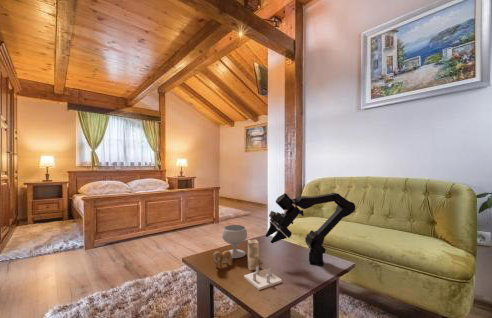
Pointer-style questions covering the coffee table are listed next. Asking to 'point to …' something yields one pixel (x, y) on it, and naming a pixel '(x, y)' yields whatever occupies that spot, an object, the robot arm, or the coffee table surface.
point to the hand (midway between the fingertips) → (268, 239)
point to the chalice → (235, 238)
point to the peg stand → (262, 278)
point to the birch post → (253, 254)
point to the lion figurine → (221, 257)
